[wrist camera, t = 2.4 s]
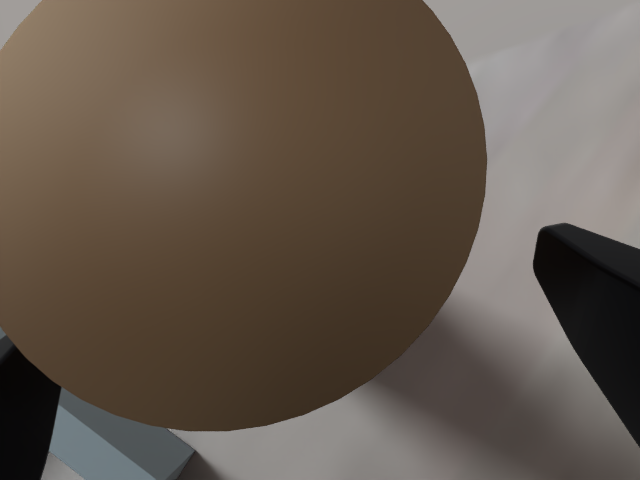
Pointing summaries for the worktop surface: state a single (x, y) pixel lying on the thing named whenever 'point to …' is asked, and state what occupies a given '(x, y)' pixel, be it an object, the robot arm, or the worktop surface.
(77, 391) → the walnut plug
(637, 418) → the robot arm
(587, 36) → the worktop surface
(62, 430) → the socket block
